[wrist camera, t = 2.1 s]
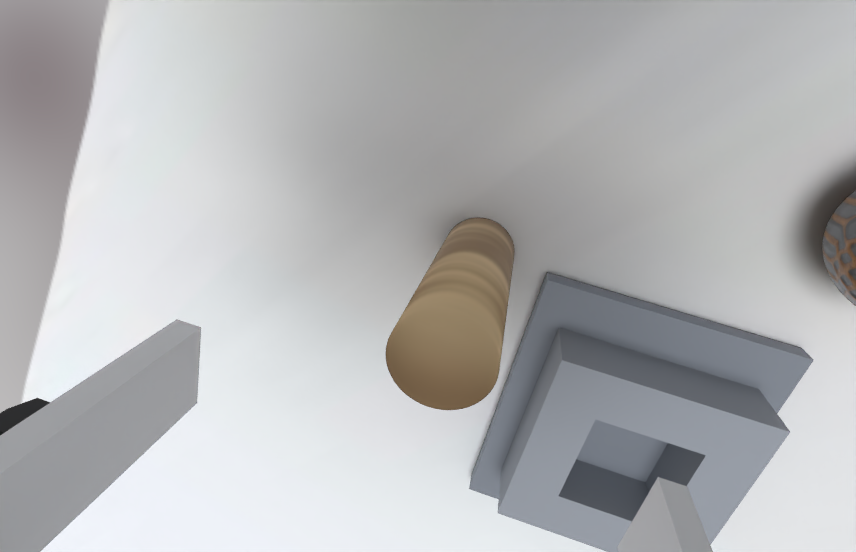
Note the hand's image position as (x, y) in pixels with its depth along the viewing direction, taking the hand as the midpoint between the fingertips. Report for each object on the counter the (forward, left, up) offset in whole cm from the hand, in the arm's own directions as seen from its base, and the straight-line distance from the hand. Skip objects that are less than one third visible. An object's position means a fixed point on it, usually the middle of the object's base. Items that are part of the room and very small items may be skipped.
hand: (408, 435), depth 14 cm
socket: (+8, +11, -16) cm, 21 cm away
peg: (0, 0, -16) cm, 16 cm away
